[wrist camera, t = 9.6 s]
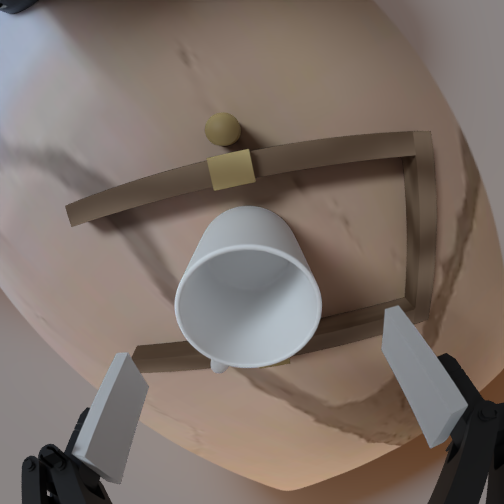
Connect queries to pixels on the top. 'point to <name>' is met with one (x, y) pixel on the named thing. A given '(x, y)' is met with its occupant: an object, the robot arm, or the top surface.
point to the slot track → (280, 161)
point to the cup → (248, 292)
